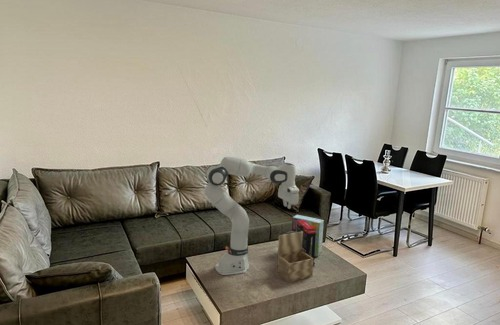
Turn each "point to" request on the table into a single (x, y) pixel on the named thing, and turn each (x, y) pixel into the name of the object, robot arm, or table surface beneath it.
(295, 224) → the snack box
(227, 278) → the table surface
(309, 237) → the graphics card box
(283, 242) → the carton lid
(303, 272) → the carton
